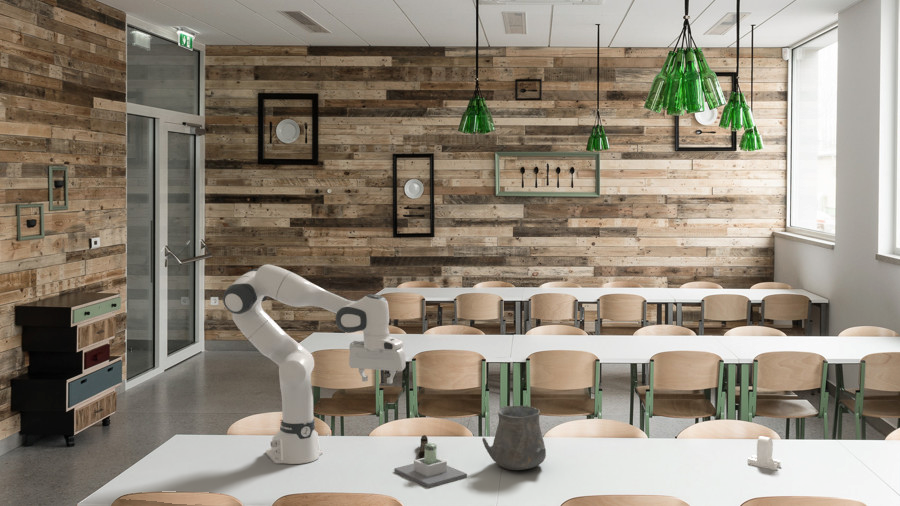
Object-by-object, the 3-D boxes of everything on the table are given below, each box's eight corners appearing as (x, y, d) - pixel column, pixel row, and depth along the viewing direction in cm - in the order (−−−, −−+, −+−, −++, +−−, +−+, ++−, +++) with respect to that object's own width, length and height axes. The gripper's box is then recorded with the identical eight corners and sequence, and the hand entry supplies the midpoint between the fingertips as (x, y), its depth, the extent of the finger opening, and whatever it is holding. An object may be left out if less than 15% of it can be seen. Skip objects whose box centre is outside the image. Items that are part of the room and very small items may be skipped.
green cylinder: (422, 471, 277) (422, 445, 276) (428, 468, 280) (429, 442, 279) (431, 473, 275) (432, 447, 274) (438, 470, 278) (438, 444, 277)
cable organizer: (775, 470, 280) (775, 441, 279) (746, 463, 286) (747, 435, 286) (781, 466, 284) (781, 438, 283) (752, 460, 290) (753, 432, 290)
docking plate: (394, 471, 281) (394, 458, 280) (431, 462, 290) (431, 449, 290) (428, 487, 265) (428, 473, 264) (466, 477, 274) (466, 463, 274)
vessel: (558, 460, 292) (558, 405, 290) (538, 479, 272) (538, 420, 270) (501, 452, 301) (501, 399, 300) (478, 471, 281) (478, 413, 279)
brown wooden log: (429, 461, 292) (429, 449, 292) (418, 461, 292) (418, 448, 292) (431, 445, 311) (431, 433, 311) (421, 445, 311) (421, 433, 311)
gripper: (345, 342, 279) (345, 381, 280) (399, 345, 272) (400, 386, 273) (353, 339, 285) (354, 378, 286) (407, 342, 278) (407, 382, 279)
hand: (377, 382), depth 279 cm, fingers open, 8 cm apart
